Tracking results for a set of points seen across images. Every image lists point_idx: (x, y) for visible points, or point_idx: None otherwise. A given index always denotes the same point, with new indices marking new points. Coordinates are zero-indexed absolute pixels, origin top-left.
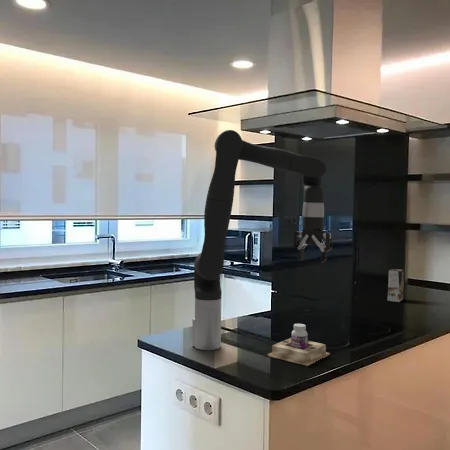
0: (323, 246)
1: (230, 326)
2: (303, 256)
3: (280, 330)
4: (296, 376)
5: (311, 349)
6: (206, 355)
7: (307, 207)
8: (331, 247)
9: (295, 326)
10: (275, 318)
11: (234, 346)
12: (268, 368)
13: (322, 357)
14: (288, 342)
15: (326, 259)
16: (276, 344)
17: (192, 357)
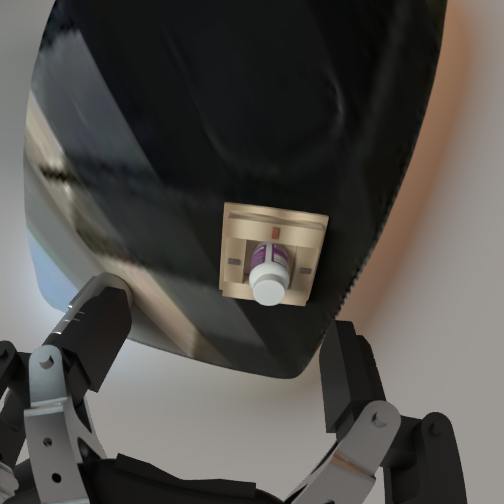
0: (352, 463)
1: (51, 153)
2: (110, 314)
3: (138, 94)
4: (305, 339)
5: (305, 279)
6: (144, 325)
7: None
8: (442, 442)
9: (263, 304)
10: (86, 20)
11: (139, 268)
12: (254, 333)
13: (321, 248)
14: (240, 260)
15: (368, 348)
16: (226, 286)
17: (139, 338)
